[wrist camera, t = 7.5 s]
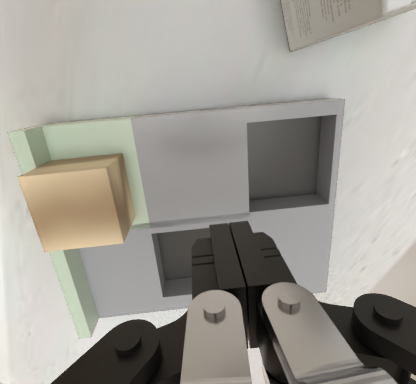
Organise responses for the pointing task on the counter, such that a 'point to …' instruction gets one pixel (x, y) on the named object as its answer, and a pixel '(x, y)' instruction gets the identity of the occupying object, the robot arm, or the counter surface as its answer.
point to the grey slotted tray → (197, 196)
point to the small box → (334, 17)
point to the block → (79, 202)
